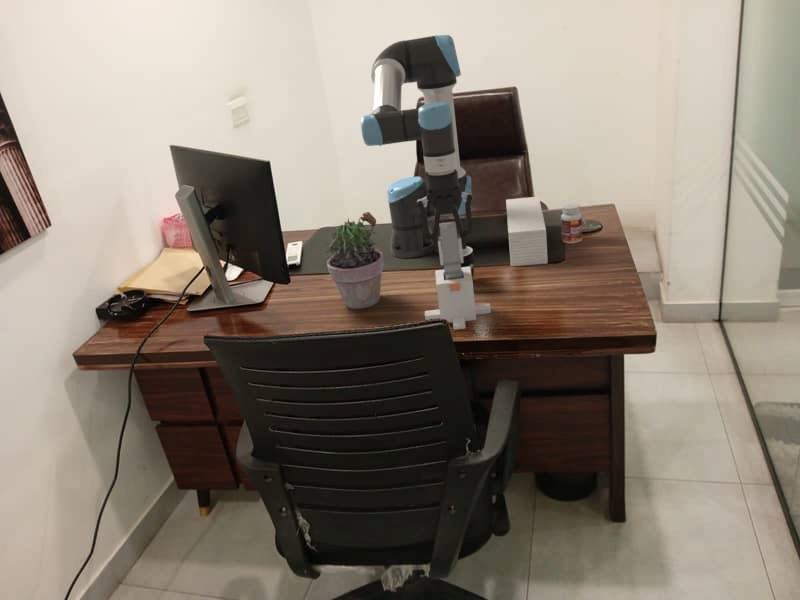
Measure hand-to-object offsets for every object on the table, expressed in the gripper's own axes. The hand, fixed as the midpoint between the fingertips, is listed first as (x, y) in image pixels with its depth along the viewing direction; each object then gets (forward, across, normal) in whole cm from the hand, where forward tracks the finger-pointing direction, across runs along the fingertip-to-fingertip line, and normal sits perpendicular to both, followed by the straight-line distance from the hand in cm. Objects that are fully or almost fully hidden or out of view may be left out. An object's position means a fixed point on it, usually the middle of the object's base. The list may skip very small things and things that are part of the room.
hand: (451, 261), depth 168 cm
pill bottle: (+15, +38, +42) cm, 59 cm away
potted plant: (+15, -27, +14) cm, 34 cm away
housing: (+15, 0, 0) cm, 15 cm away
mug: (+15, +2, +20) cm, 25 cm away
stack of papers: (+15, +24, +43) cm, 51 cm away
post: (+15, 0, 0) cm, 15 cm away
